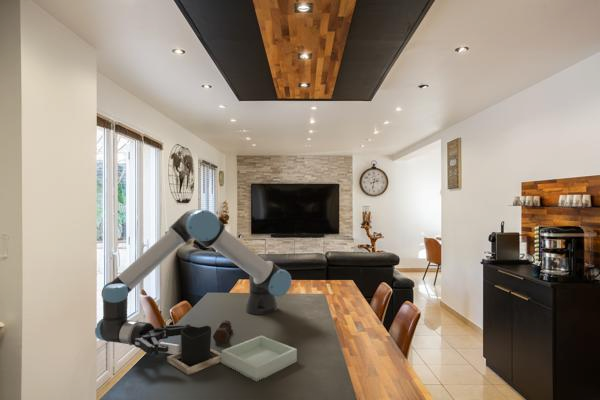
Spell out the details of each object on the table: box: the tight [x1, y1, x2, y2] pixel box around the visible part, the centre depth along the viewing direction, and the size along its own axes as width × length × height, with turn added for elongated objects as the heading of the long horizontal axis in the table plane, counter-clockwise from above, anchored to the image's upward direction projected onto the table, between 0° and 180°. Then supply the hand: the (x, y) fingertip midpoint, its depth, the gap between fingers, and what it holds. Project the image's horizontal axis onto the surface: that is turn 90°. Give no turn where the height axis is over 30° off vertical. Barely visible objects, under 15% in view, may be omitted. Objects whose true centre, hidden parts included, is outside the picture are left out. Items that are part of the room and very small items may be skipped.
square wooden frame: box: [166, 347, 222, 376], centre depth 110 cm, size 13×13×2 cm
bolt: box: [212, 320, 233, 345], centre depth 131 cm, size 6×5×15 cm
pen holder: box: [180, 325, 212, 367], centre depth 110 cm, size 9×9×10 cm
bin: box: [220, 335, 298, 382], centre depth 109 cm, size 17×17×4 cm
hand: (191, 341), depth 110 cm, fingers open, 13 cm apart
